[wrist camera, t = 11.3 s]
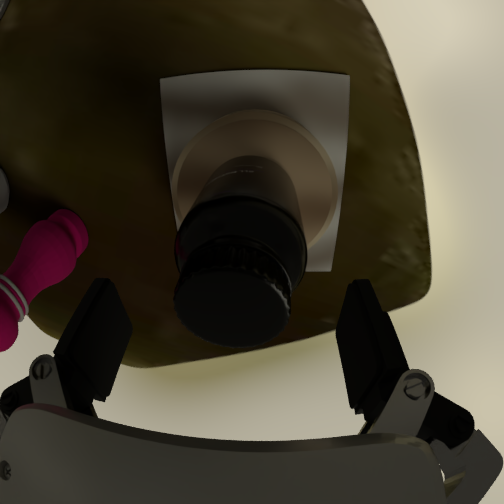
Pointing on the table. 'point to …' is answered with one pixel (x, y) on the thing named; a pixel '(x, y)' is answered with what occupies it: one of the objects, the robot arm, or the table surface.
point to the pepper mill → (39, 267)
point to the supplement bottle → (240, 254)
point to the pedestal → (262, 139)
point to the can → (3, 191)
